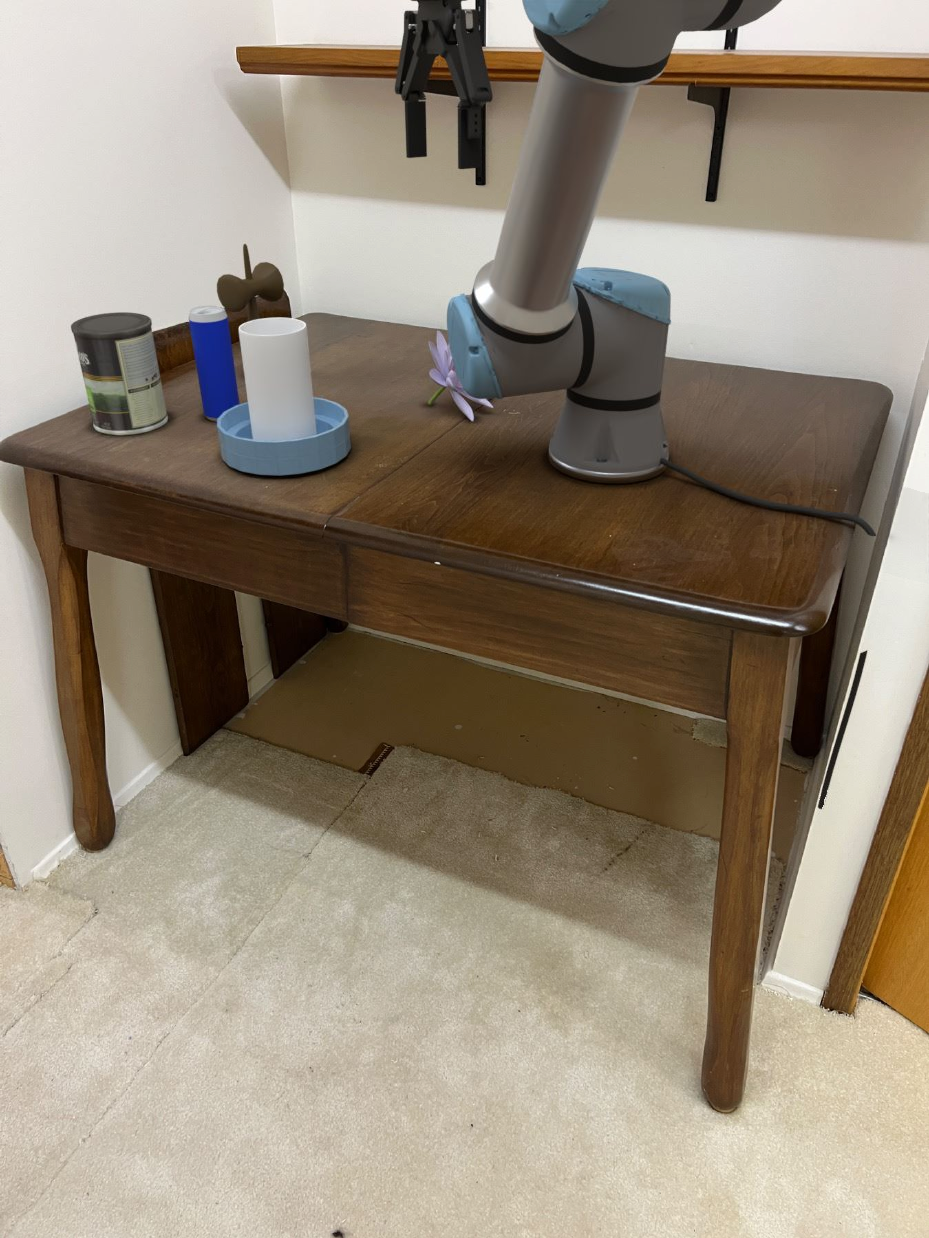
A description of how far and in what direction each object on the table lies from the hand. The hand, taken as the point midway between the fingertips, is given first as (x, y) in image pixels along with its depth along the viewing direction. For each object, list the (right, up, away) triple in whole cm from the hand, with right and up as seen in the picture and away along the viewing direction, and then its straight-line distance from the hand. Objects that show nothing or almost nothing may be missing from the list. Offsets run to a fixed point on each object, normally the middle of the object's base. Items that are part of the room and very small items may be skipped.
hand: (441, 163), depth 120 cm
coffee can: (-44, -31, +13) cm, 56 cm away
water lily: (+2, -28, +17) cm, 33 cm away
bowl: (-20, -37, +3) cm, 42 cm away
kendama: (-30, -20, +31) cm, 47 cm away
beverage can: (-32, -29, +15) cm, 46 cm away
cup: (-20, -37, +3) cm, 42 cm away
